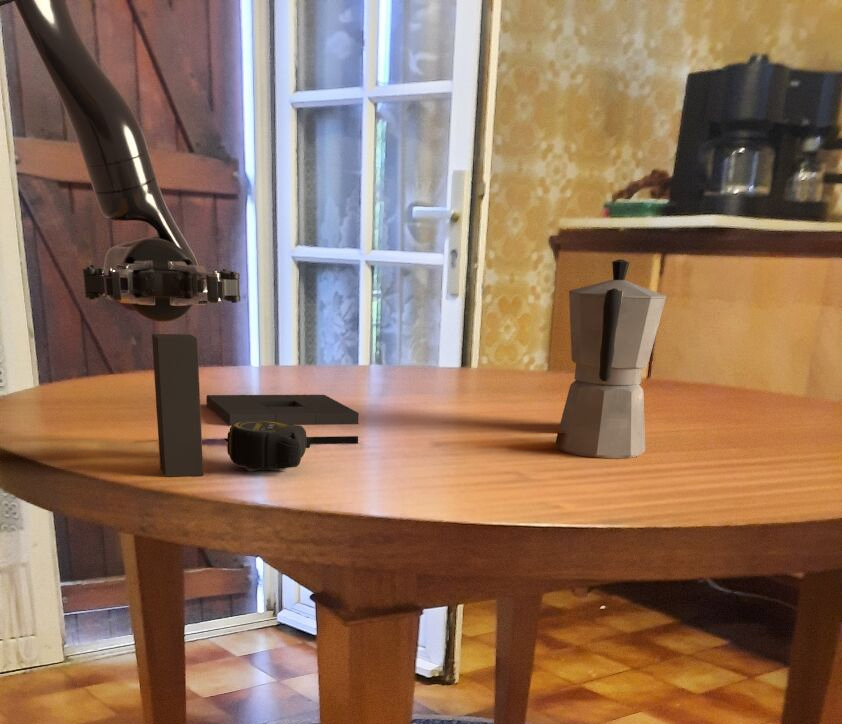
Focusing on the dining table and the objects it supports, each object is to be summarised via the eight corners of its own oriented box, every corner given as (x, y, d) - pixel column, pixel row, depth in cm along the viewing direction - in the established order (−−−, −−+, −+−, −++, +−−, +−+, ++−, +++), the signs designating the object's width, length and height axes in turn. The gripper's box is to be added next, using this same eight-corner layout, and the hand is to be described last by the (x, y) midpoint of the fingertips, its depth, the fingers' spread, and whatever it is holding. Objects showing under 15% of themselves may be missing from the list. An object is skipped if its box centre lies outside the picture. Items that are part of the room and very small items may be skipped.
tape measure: (300, 479, 91) (300, 434, 90) (220, 475, 92) (219, 429, 90) (310, 464, 98) (310, 421, 96) (236, 460, 98) (234, 417, 96)
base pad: (230, 445, 104) (229, 414, 103) (207, 424, 115) (206, 395, 114) (358, 443, 108) (358, 412, 107) (324, 422, 119) (324, 394, 118)
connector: (165, 476, 90) (156, 337, 85) (160, 469, 93) (151, 333, 88) (203, 475, 91) (197, 338, 86) (197, 468, 94) (190, 334, 89)
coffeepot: (560, 436, 117) (577, 256, 109) (647, 443, 116) (671, 261, 108) (544, 461, 104) (563, 257, 96) (643, 469, 102) (670, 262, 94)
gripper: (81, 235, 106) (78, 239, 92) (226, 241, 110) (244, 245, 96) (89, 316, 109) (87, 332, 95) (229, 319, 113) (247, 334, 99)
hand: (166, 288), depth 96 cm, fingers open, 8 cm apart
